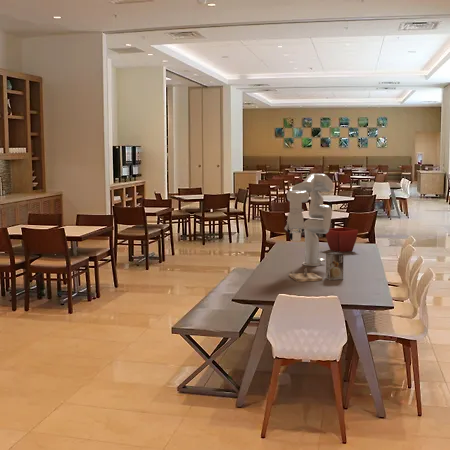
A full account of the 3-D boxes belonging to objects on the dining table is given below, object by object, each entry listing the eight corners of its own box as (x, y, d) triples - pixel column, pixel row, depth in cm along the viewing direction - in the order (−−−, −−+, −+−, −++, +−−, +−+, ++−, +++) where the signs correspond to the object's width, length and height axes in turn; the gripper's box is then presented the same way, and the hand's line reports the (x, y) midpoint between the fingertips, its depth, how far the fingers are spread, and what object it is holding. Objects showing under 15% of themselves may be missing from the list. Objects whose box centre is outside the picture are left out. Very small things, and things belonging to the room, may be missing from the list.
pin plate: (313, 275, 394) (313, 265, 394) (322, 280, 379) (322, 270, 378) (289, 276, 391) (289, 266, 390) (297, 281, 375) (297, 272, 375)
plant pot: (323, 249, 487) (324, 228, 485) (343, 247, 495) (344, 227, 493) (337, 253, 470) (338, 231, 468) (358, 251, 478) (358, 230, 476)
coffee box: (338, 277, 388) (339, 252, 386) (343, 279, 382) (344, 253, 380) (325, 278, 386) (325, 252, 384) (329, 280, 380) (330, 254, 377)
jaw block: (297, 239, 400) (297, 231, 399) (300, 240, 393) (300, 233, 392) (289, 239, 399) (289, 231, 398) (293, 241, 392) (293, 233, 391)
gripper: (306, 210, 399) (305, 238, 401) (281, 210, 395) (280, 239, 398) (310, 211, 392) (309, 239, 394) (284, 212, 388) (284, 240, 390)
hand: (295, 239), depth 396 cm, fingers closed on jaw block, 5 cm apart
